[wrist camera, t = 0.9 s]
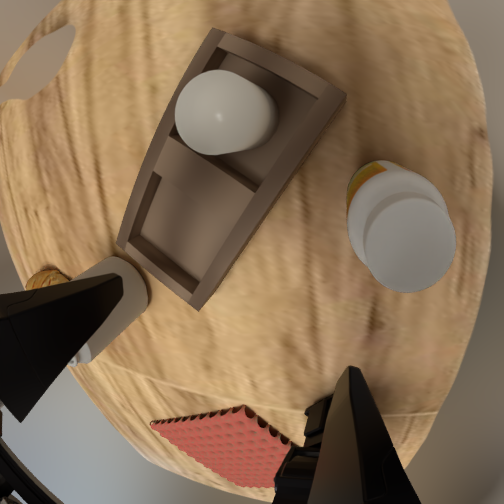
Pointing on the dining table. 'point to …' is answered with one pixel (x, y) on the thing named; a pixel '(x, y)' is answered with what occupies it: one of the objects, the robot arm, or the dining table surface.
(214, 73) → the white rounded cylinder
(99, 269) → the can
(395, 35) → the dining table surface
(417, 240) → the supplement bottle
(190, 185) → the caddy
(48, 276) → the croissant
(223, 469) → the red studded mat
